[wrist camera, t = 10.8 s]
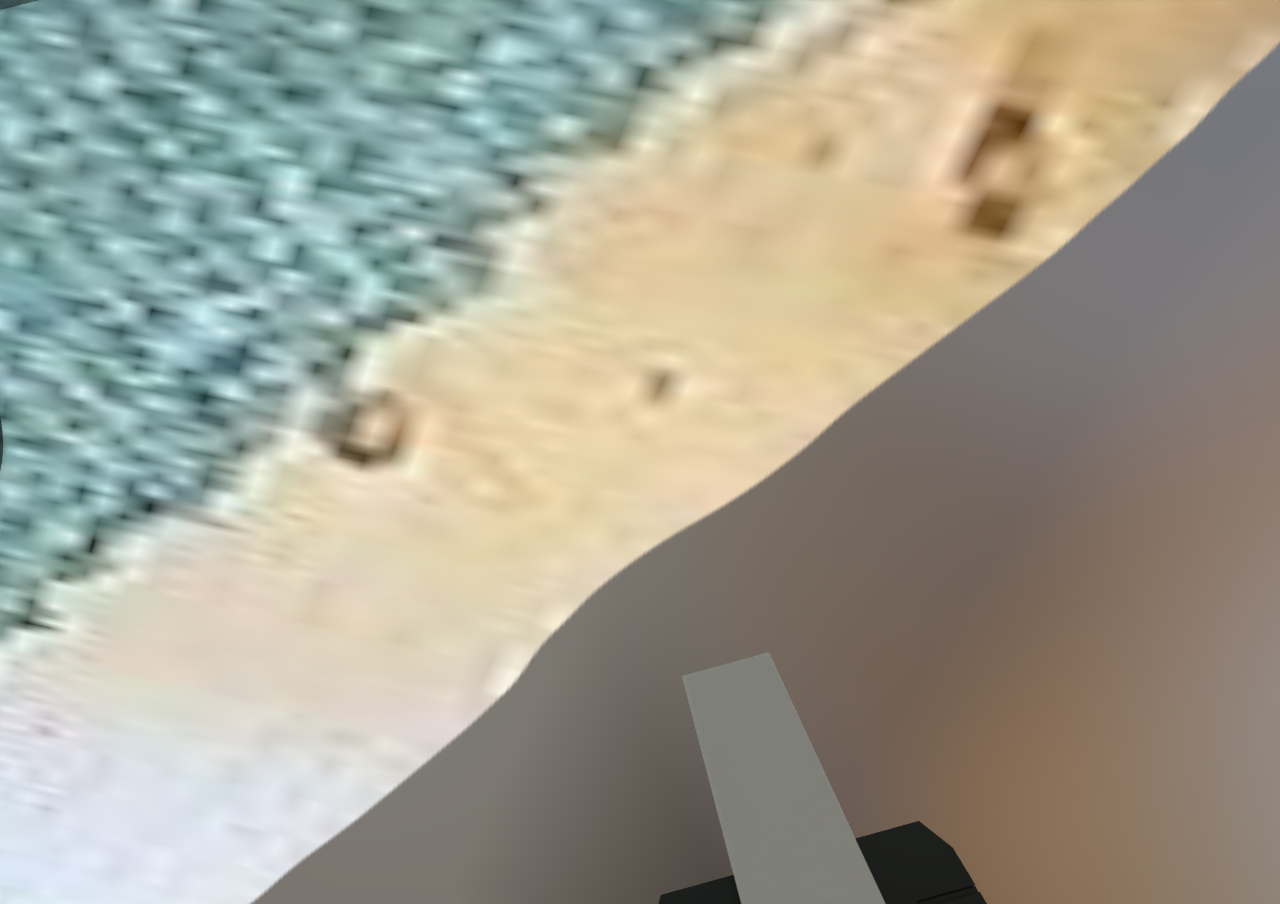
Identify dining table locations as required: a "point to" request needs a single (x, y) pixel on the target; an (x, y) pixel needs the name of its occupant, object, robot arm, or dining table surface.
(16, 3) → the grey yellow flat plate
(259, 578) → the dining table surface
